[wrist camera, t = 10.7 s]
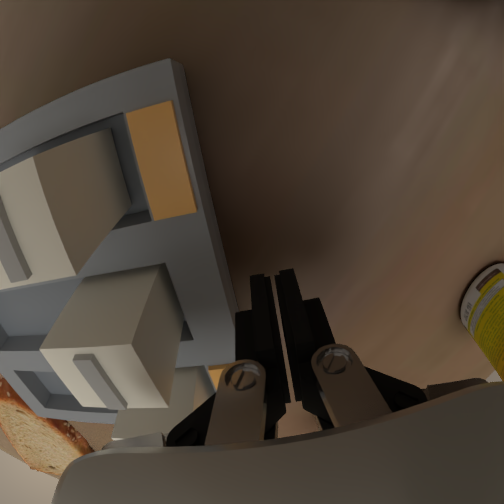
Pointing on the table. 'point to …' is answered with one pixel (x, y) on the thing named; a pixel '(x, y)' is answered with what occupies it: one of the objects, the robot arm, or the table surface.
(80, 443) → the bread slice
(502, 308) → the supplement bottle
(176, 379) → the tab
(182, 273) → the switch bank
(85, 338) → the tab
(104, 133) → the beige switch slider block
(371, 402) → the robot arm
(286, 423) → the table surface
